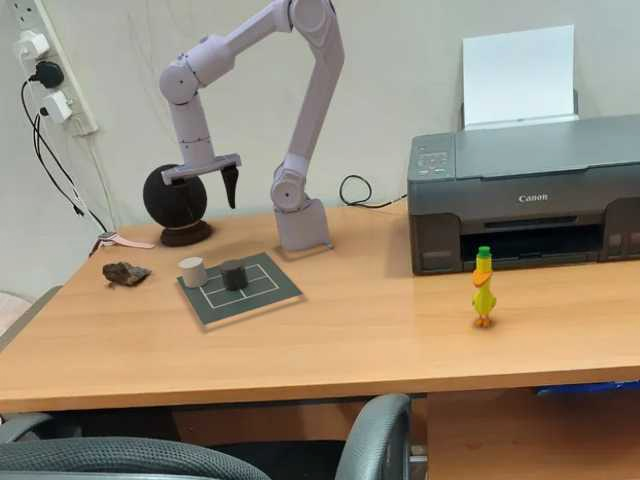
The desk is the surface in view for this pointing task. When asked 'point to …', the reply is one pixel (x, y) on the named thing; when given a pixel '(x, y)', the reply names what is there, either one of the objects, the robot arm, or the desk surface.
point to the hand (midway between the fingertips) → (213, 212)
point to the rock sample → (124, 272)
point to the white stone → (193, 272)
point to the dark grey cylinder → (234, 274)
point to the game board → (261, 290)
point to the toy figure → (483, 286)
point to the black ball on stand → (176, 209)
